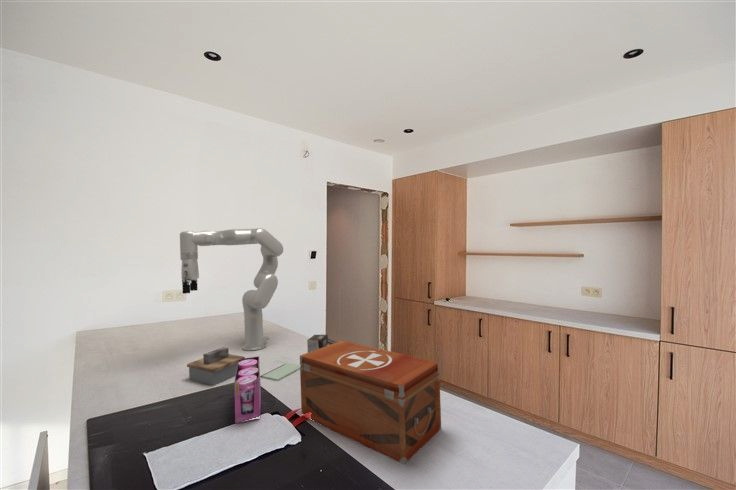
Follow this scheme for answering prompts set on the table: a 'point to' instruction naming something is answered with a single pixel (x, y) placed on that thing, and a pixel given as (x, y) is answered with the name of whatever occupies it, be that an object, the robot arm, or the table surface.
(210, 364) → the lid
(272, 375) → the sage mat
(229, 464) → the table surface
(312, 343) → the coffee box
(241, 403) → the gum box
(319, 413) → the wooden box
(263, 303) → the robot arm
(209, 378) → the storage box
